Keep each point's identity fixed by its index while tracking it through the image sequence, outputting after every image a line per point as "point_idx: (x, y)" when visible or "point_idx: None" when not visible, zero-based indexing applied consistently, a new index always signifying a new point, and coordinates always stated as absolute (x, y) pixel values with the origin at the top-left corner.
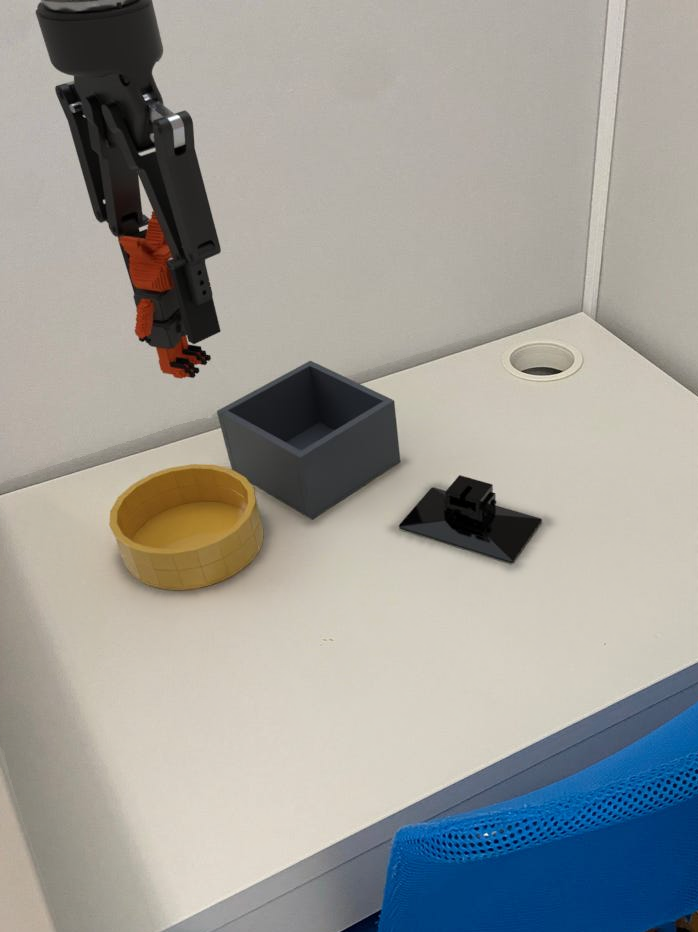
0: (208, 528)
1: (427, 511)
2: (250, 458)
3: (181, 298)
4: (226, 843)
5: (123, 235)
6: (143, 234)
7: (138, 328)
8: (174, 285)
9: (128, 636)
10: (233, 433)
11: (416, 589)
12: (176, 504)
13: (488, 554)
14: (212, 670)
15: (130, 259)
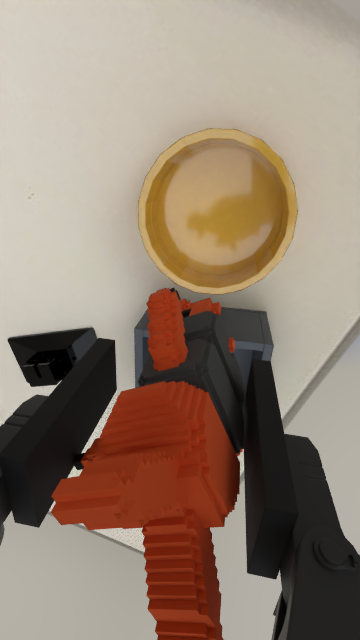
0: (217, 236)
1: (86, 351)
2: (227, 321)
3: (54, 392)
4: None
5: (300, 536)
6: (253, 555)
7: (160, 299)
8: (55, 413)
9: (162, 67)
10: (248, 333)
11: (31, 281)
12: (272, 242)
13: (23, 336)
14: (66, 97)
15: (200, 449)
